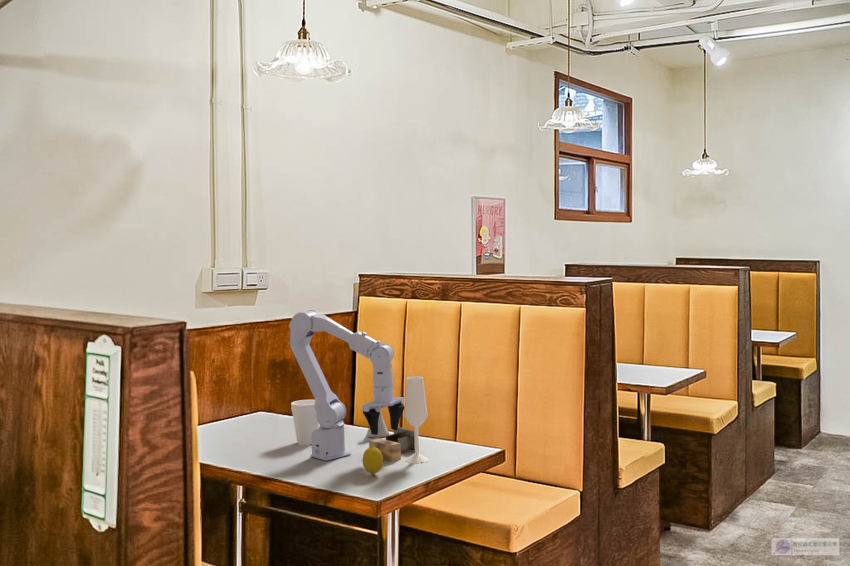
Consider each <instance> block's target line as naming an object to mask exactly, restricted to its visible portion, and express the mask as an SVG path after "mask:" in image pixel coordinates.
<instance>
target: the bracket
mask: <svg viewBox="0 0 850 566" xmlns="http://www.w3.org/2000/svg"><path fill="white" fill-rule="evenodd" d="M385 440H388V441H392V442H397V443H401V454H404V453H407V451H408V452H411V451H412V450H413V452H415V437H414V430H413V429H409V428H406V427H405V428H404V427H400V426H398V429H397V430H393V433H392V434H389V435H387V436H385ZM410 450H411V451H410Z"/></svg>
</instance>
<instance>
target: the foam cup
mask: <svg viewBox="0 0 850 566" xmlns="http://www.w3.org/2000/svg"><path fill="white" fill-rule="evenodd" d="M290 405H291V407H290V409H291V413H292V419H293V425H294V431H295V437H296V442H297V445H298V446H299V445H300V446H310V445H309V444H312V432H313V431H314V430H316V429H318V428H319V427H320V424H319V423H318V421H317V413H316V409H315V407H314V406H315V399H301V400H295V401H292V402H291V403H290Z"/></svg>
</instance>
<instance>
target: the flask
mask: <svg viewBox="0 0 850 566" xmlns="http://www.w3.org/2000/svg"><path fill="white" fill-rule="evenodd" d="M375 410H376V412H380V415H379V420H378V435H374V434H371V430H370V426H369V425H368V426H369V427H368V429H367V432H366V437H369V438H374V439H377V438H379V439H381V438H386V436H387V435H390V432H389V429H388V427H387V425H386V422H385V419H384V416H383V413H382V408H379V409H375Z"/></svg>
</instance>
